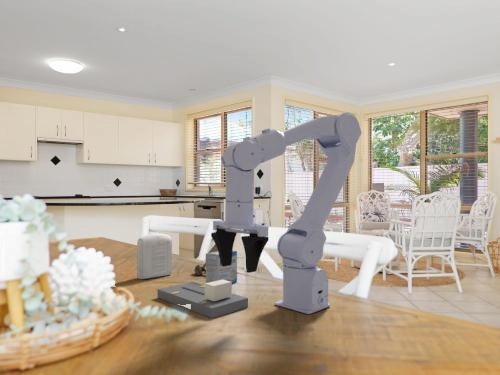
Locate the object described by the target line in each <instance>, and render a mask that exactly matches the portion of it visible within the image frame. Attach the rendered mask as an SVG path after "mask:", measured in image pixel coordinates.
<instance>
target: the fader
mask: <svg viewBox="0 0 500 375" xmlns="http://www.w3.org/2000/svg"><path fill="white" fill-rule="evenodd" d="M204 285H205V299H208V300H211V301H217V300H221V299H225V298H228V297H232V291H233V288H232V287H233V284H232V282H231V281H227V280H223V279H222V280H218V281H213V282H209V283H206V282H205V283H204Z"/></svg>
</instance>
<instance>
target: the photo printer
mask: <svg viewBox="0 0 500 375" xmlns="http://www.w3.org/2000/svg"><path fill="white" fill-rule="evenodd" d="M136 244H137V245H136V246H137V252H136V254H137V255H136V258H137V260H136V276H137V279H139V280H147V279H152V278H159V277H164V276H171V275H172V270H173V269H172V268H173V240H172V237H171V235H169V234H167V233H166V234H165V233H160V232H157V233H149V234H145V235H143V236H141V237H139V238H138V239H137V243H136Z"/></svg>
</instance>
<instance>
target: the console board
mask: <svg viewBox="0 0 500 375" xmlns="http://www.w3.org/2000/svg"><path fill="white" fill-rule="evenodd" d="M156 290H157V292H156V293H157V296H156V297H157V299H160V300H162V301H166V302H168V303H171V304H172V305H173V304H174V305H176V304H180V305H186V304H191V310H190V311H192V312H194V313H197V314H200V315H202V316H206V317H207V318H210V319H215V318H217V317H220V316H224V315H227V314H230V313H233V312H237V311H241V310H243V309H246V308H249V297H246V296H243V295H239V294H236V293H232V297H228V298H225V299H221V300H217V301H211V300H208V299H205V284H202V283H199V282H193V281H189V282H185V283H179V284H176V285H175V284H174V285H169V286H165V287H161V288H157V289H156Z"/></svg>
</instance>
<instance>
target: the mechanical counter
mask: <svg viewBox="0 0 500 375" xmlns="http://www.w3.org/2000/svg"><path fill="white" fill-rule="evenodd" d="M203 272H204V273H205V274H206V262H205V263H203V265H202V266H201V265H200V264H197V265H196V266H195V267H194V273H195V274H196V275H197V276H202V275H203ZM237 275H238V272H237Z"/></svg>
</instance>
